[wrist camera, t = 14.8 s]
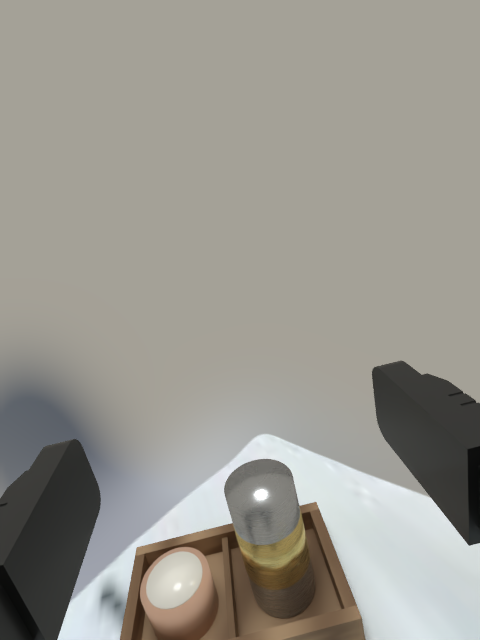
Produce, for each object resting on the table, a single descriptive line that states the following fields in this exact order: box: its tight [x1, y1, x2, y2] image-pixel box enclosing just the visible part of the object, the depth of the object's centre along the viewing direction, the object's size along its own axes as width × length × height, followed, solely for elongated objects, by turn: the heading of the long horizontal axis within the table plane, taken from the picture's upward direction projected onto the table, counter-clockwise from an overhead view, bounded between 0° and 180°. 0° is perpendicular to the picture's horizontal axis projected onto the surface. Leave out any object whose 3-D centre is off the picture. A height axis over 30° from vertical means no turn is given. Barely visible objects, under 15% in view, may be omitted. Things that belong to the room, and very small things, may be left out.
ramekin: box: [140, 547, 219, 640], centre depth 34 cm, size 6×6×4 cm
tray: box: [120, 502, 365, 640], centre depth 35 cm, size 20×12×3 cm, turn 96°
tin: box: [224, 459, 315, 618], centre depth 33 cm, size 6×6×12 cm
